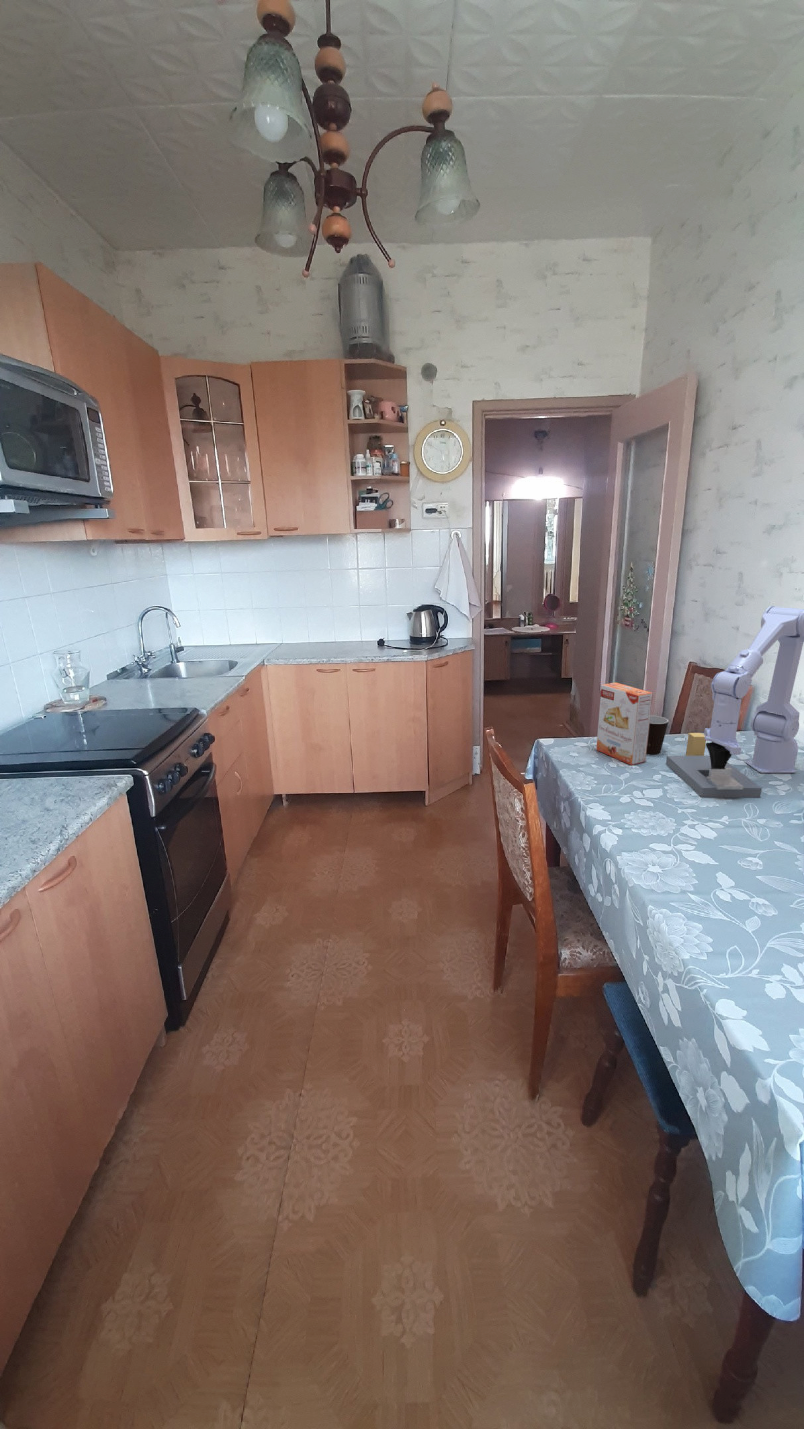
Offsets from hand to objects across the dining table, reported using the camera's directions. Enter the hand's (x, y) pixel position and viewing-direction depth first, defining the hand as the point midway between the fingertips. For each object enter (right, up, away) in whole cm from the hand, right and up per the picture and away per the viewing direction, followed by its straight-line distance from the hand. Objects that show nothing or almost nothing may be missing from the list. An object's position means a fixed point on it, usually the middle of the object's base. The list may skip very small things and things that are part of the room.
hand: (717, 771), depth 143 cm
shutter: (0, -3, -3) cm, 4 cm away
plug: (+5, +2, +21) cm, 22 cm away
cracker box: (-16, +2, +23) cm, 28 cm away
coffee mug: (-5, +4, +28) cm, 29 cm away
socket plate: (+1, -3, +6) cm, 7 cm away
